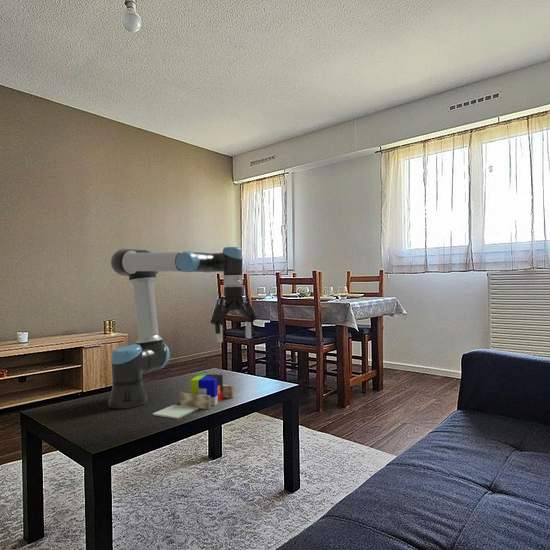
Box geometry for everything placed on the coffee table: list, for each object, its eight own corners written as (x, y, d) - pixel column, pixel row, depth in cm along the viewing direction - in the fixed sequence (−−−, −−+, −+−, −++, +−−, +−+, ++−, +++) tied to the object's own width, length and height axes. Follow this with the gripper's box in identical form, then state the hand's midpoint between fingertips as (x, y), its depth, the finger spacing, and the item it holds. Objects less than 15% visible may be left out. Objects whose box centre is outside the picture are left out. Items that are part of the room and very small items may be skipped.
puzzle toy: (215, 405, 164) (214, 380, 165) (191, 405, 166) (190, 380, 167) (223, 398, 174) (222, 374, 174) (200, 398, 176) (199, 374, 176)
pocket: (180, 405, 166) (180, 393, 166) (206, 394, 181) (206, 382, 181) (208, 409, 159) (208, 396, 160) (233, 397, 175) (233, 385, 175)
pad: (152, 415, 155) (152, 413, 155) (174, 406, 166) (174, 404, 166) (177, 418, 149) (177, 417, 149) (198, 409, 160) (198, 407, 160)
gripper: (211, 287, 153) (212, 344, 153) (264, 285, 169) (265, 337, 169) (200, 287, 159) (202, 342, 158) (252, 285, 175) (254, 335, 175)
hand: (234, 340), depth 164 cm, fingers open, 13 cm apart
